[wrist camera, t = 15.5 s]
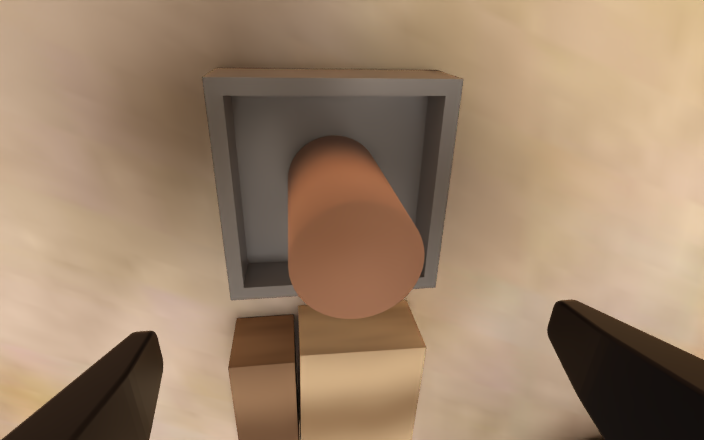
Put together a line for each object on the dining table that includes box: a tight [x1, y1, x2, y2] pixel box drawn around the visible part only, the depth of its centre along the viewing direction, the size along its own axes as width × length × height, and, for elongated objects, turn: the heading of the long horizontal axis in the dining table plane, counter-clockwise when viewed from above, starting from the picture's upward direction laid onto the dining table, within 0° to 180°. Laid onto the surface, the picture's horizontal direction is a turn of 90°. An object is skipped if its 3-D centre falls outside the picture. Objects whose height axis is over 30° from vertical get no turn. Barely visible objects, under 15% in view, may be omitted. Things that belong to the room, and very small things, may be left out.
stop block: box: [228, 315, 300, 440], centre depth 23 cm, size 10×3×4 cm, turn 179°
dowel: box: [288, 135, 425, 319], centre depth 15 cm, size 4×4×7 cm
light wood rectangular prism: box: [298, 300, 426, 440], centre depth 23 cm, size 9×6×4 cm, turn 177°
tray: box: [202, 68, 463, 300], centre depth 18 cm, size 9×9×3 cm
